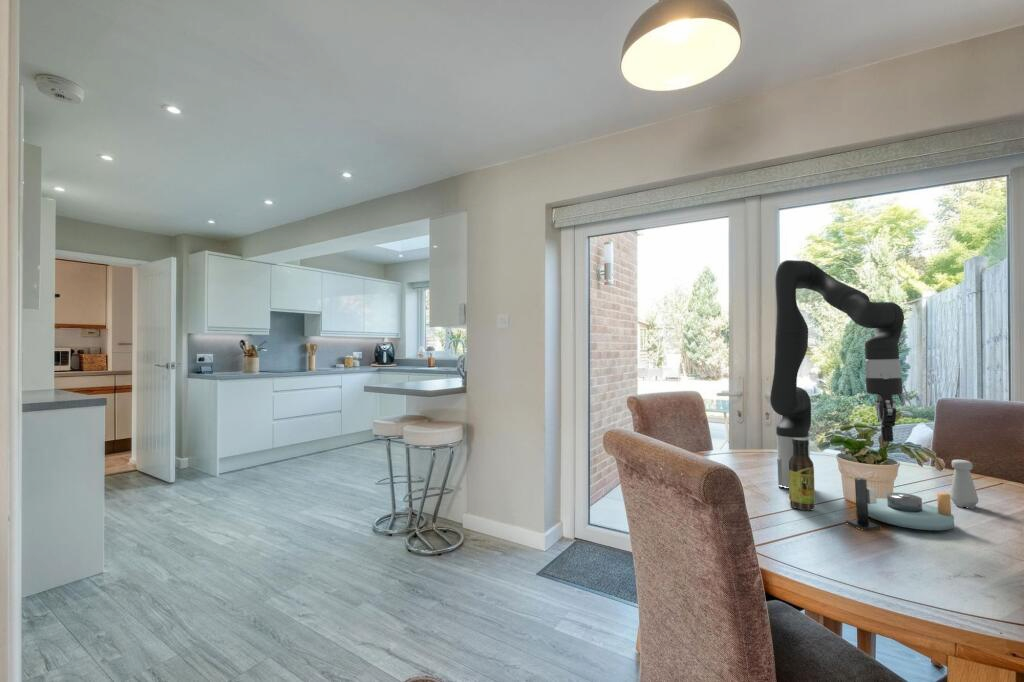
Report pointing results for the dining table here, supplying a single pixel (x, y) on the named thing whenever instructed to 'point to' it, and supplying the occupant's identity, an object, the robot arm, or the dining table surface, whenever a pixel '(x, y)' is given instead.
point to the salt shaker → (963, 485)
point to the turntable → (916, 515)
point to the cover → (904, 502)
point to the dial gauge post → (863, 505)
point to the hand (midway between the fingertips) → (887, 441)
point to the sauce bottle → (801, 476)
